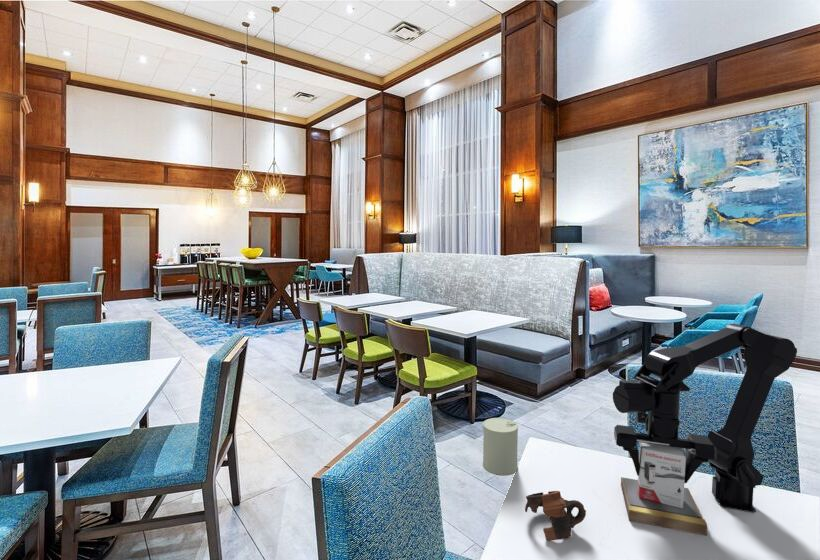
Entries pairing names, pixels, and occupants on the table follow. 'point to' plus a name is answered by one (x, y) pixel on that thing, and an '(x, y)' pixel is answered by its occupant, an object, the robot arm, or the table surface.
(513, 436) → the can
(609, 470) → the table surface
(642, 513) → the framed panel
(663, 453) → the ink box
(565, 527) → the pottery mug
